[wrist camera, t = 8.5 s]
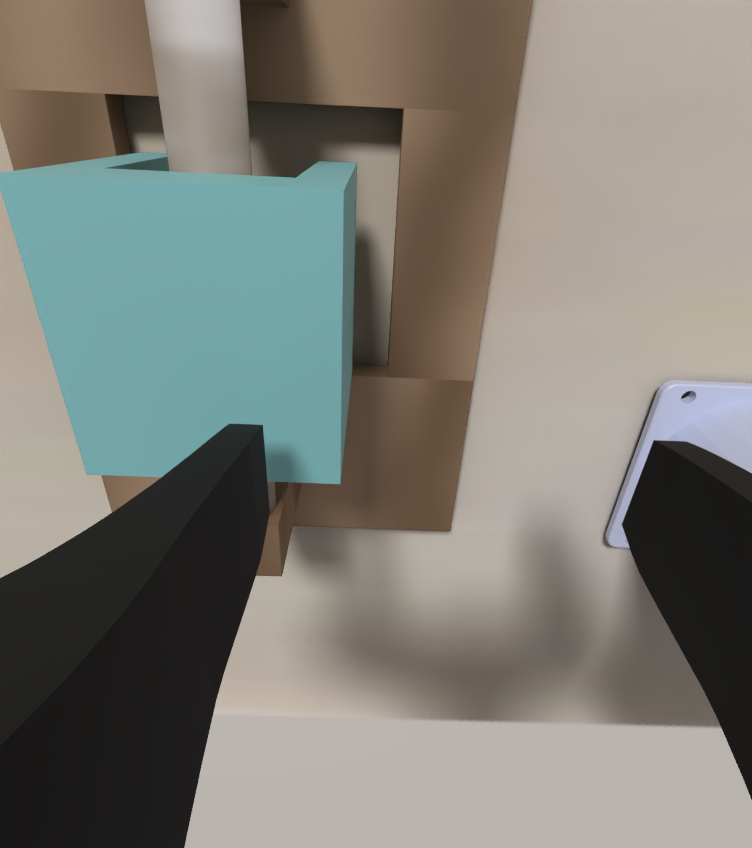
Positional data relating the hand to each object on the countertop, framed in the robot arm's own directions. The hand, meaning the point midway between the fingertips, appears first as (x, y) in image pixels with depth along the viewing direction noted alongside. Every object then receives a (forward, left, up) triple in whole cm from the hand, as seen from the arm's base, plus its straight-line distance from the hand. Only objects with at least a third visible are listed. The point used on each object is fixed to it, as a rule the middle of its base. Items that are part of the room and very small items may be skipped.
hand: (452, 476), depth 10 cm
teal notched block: (+5, -2, -7) cm, 9 cm away
